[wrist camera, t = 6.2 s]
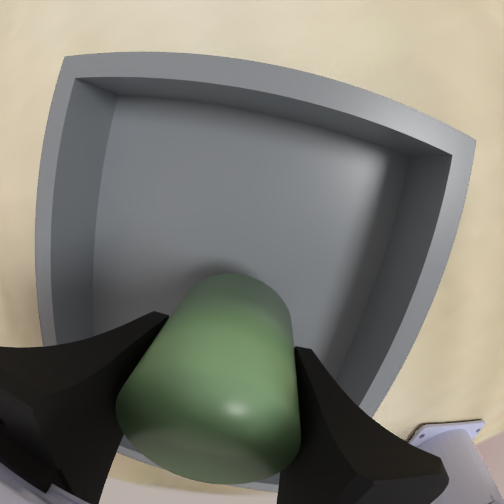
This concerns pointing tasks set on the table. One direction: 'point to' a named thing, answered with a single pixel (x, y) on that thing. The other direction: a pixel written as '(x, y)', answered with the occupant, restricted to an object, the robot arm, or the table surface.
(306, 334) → the bin
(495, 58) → the table surface
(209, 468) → the green rounded tapered piece
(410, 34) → the table surface
